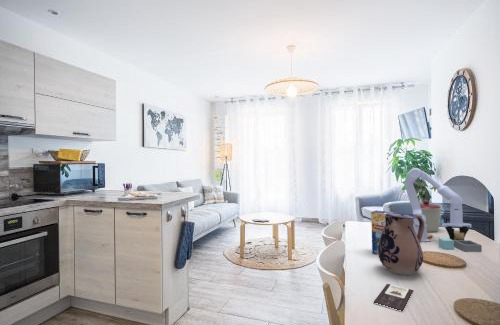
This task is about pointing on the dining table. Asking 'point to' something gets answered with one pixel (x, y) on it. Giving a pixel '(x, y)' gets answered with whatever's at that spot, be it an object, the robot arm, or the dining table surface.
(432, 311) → the dining table surface
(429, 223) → the canister
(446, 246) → the pale teal cube
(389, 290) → the chocolate bar
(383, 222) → the beverage box
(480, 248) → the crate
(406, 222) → the ceramic pitcher
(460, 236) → the wooden block
